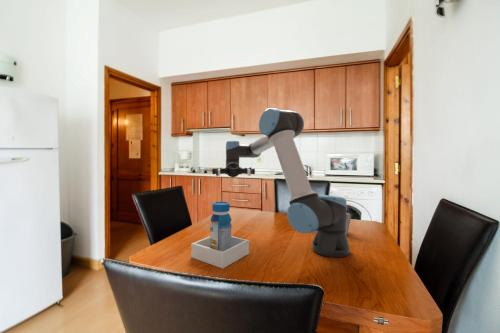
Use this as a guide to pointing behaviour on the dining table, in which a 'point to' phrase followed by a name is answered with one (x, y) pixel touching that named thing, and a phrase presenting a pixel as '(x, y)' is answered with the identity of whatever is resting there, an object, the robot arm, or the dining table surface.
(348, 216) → the digital clock
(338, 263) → the dining table surface
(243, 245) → the box
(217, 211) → the beverage bottle
